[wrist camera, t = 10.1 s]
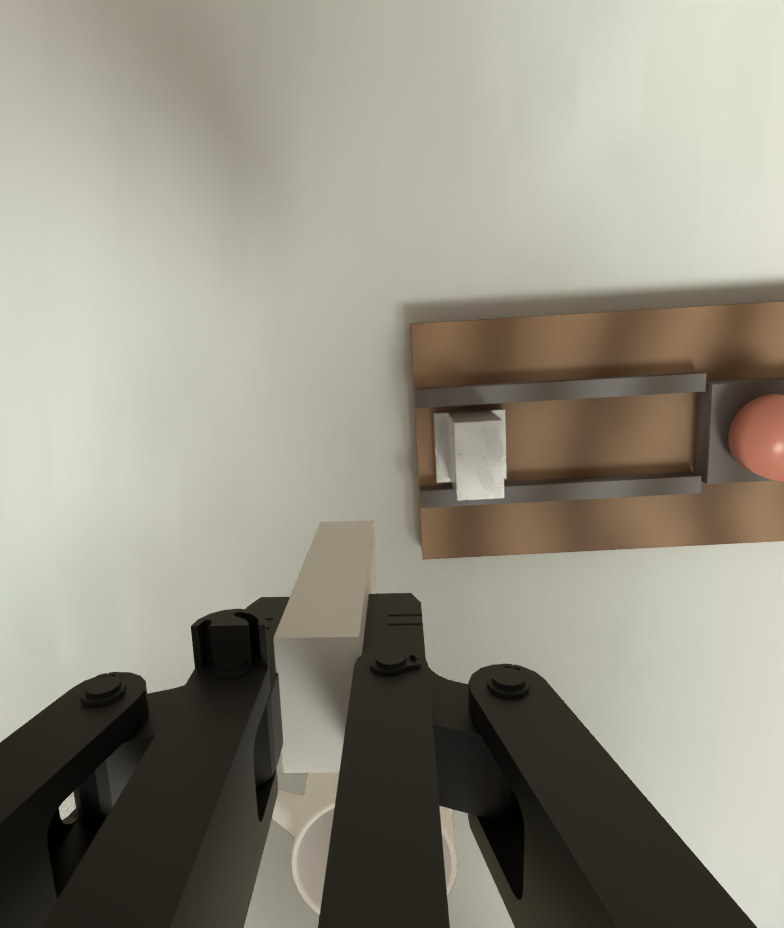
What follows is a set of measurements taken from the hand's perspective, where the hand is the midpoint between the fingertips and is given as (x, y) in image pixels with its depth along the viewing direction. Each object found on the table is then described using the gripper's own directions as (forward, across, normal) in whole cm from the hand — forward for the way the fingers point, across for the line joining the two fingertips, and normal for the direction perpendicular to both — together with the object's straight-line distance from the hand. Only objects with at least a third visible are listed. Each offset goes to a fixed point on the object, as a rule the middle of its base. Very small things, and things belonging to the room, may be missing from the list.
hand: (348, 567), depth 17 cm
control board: (+21, -20, 0) cm, 29 cm away
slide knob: (+19, -6, 0) cm, 20 cm away
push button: (+17, -21, -1) cm, 27 cm away
